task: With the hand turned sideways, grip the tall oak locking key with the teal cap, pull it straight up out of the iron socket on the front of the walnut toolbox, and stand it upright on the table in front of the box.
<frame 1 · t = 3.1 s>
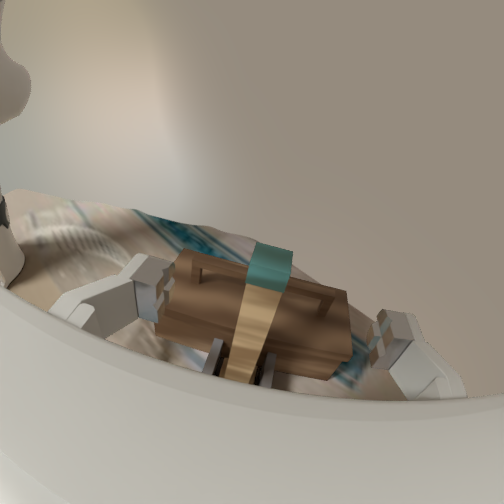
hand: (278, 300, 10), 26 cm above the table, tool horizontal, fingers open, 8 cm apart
toolbox: (248, 331, 42), on the table
wooden key: (235, 382, 34), resting in toolbox
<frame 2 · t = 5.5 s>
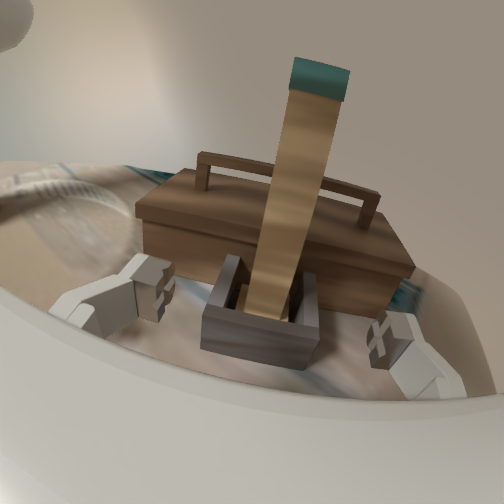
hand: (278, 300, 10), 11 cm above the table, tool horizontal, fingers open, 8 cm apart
toolbox: (269, 263, 33), on the table
wooden key: (259, 320, 25), resting in toolbox
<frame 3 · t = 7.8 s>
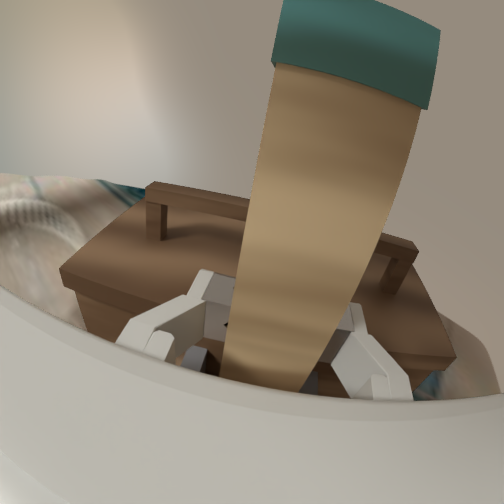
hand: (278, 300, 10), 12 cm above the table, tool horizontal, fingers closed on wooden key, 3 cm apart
toolbox: (255, 332, 24), on the table
wooden key: (235, 430, 15), resting in toolbox, touching gripper
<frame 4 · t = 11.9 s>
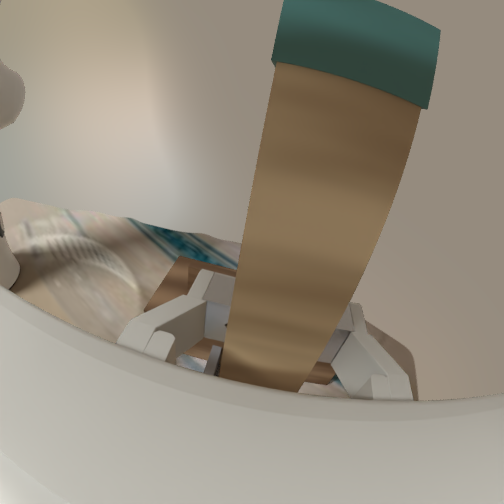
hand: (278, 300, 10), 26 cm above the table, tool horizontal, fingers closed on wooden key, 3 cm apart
toolbox: (246, 338, 41), on the table
wooden key: (234, 430, 15), point 15 cm above the table, touching gripper
when the fingers open (13 cm above the table, at t = 15.6 s): wooden key drops 1 cm, on the table.
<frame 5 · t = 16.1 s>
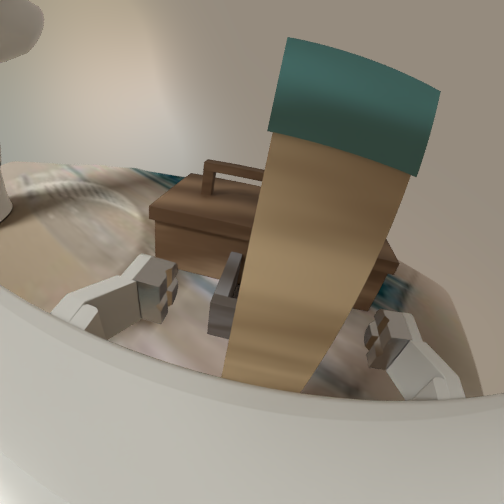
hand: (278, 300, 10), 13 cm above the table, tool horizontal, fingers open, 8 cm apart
toolbox: (268, 260, 36), on the table
wooden key: (232, 436, 16), on the table
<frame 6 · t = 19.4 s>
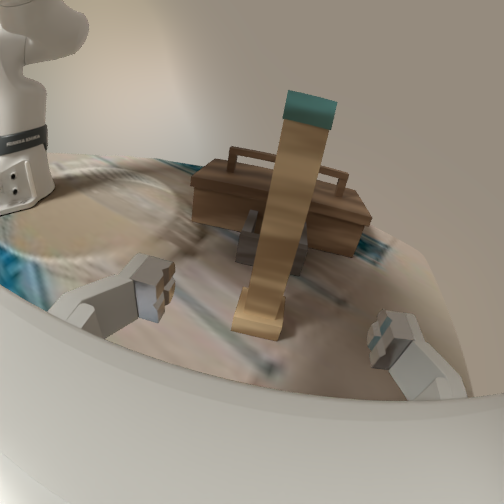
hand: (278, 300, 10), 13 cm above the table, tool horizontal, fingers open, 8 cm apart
toolbox: (275, 222, 47), on the table
wooden key: (257, 320, 27), on the table
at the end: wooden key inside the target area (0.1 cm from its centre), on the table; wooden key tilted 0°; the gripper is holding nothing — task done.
